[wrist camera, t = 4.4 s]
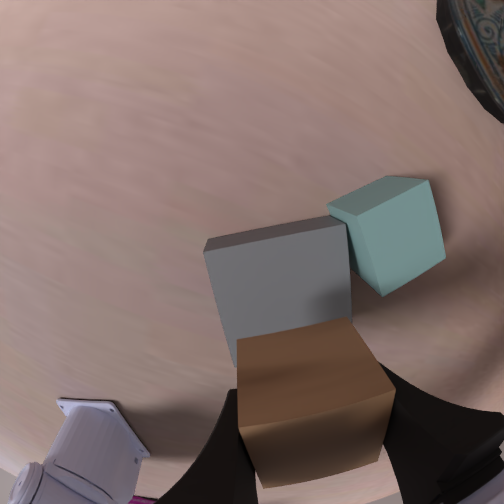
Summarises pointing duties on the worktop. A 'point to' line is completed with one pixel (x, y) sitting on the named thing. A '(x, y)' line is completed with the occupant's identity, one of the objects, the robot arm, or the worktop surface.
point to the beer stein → (476, 47)
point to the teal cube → (390, 231)
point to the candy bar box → (141, 500)
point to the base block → (280, 277)
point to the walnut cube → (311, 402)
